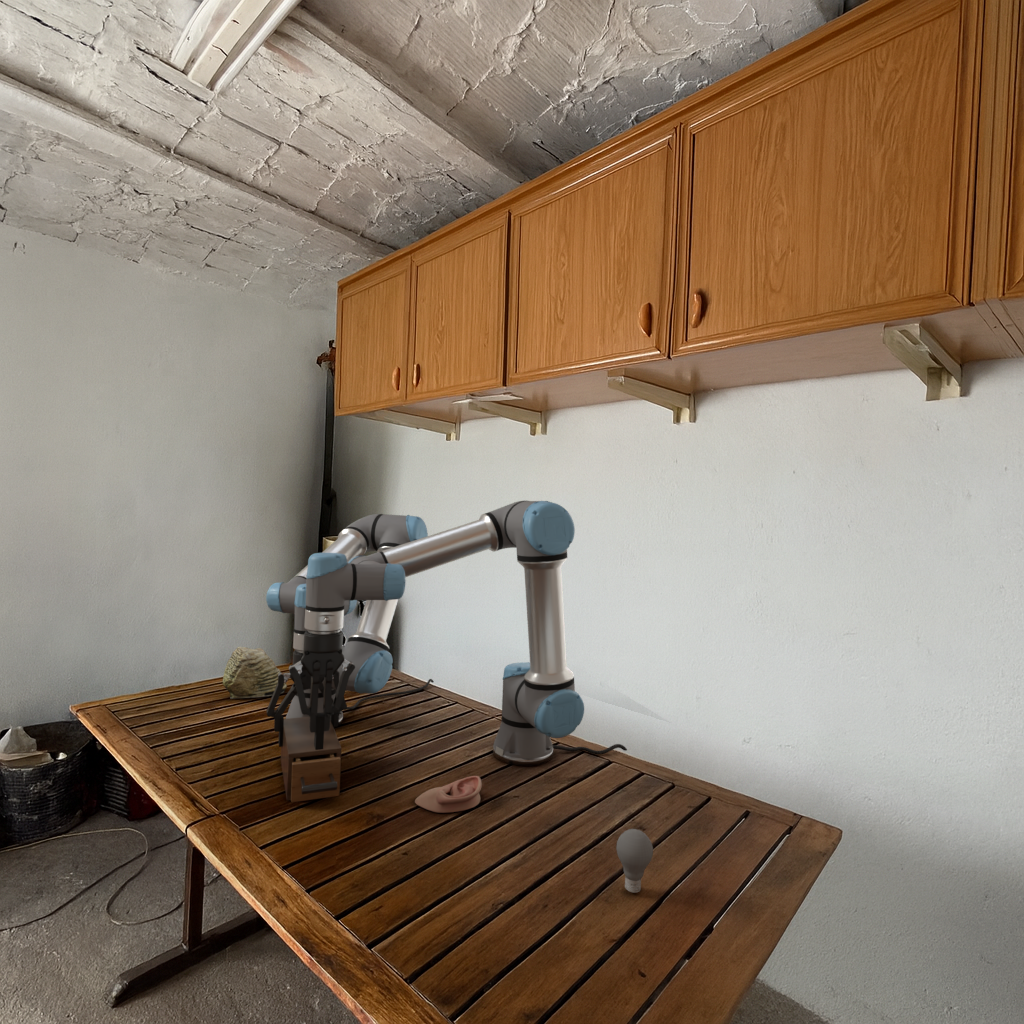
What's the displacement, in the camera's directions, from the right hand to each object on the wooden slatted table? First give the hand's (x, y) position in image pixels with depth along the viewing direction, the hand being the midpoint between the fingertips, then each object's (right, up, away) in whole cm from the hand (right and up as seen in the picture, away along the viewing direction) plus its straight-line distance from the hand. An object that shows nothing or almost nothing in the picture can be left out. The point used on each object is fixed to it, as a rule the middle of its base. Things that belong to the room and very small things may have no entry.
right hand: (318, 746), depth 127 cm
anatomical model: (+25, -14, +7) cm, 30 cm away
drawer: (-4, -12, +10) cm, 16 cm away
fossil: (-42, -10, +71) cm, 83 cm away
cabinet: (-7, -13, +16) cm, 22 cm away
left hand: (-10, -7, +23) cm, 26 cm away
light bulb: (+59, -16, -22) cm, 65 cm away
